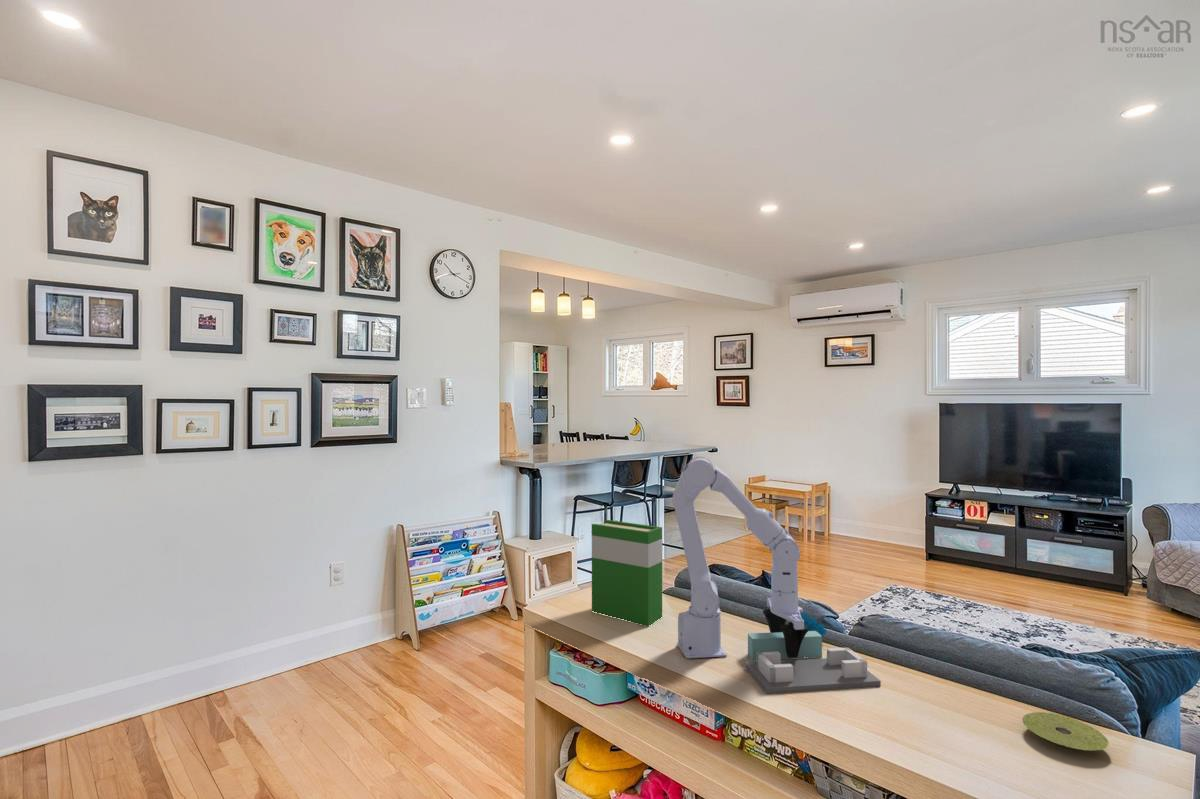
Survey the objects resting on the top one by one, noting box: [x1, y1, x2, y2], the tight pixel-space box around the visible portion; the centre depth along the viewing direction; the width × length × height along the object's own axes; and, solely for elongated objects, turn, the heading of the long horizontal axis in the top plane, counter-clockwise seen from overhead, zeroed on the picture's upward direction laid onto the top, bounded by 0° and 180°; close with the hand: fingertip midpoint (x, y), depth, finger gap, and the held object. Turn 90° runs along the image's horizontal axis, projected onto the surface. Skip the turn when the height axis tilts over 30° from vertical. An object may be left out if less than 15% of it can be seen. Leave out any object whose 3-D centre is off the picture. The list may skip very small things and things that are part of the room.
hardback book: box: [591, 519, 663, 627], centre depth 154 cm, size 18×7×24 cm, turn 56°
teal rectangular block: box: [747, 631, 823, 662], centre depth 129 cm, size 16×3×5 cm, turn 96°
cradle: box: [744, 647, 882, 694], centre depth 119 cm, size 24×11×4 cm, turn 97°
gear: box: [785, 611, 828, 638], centre depth 138 cm, size 11×6×10 cm
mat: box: [1021, 711, 1109, 751], centre depth 96 cm, size 11×11×2 cm
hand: (784, 649), depth 129 cm, fingers open, 7 cm apart
